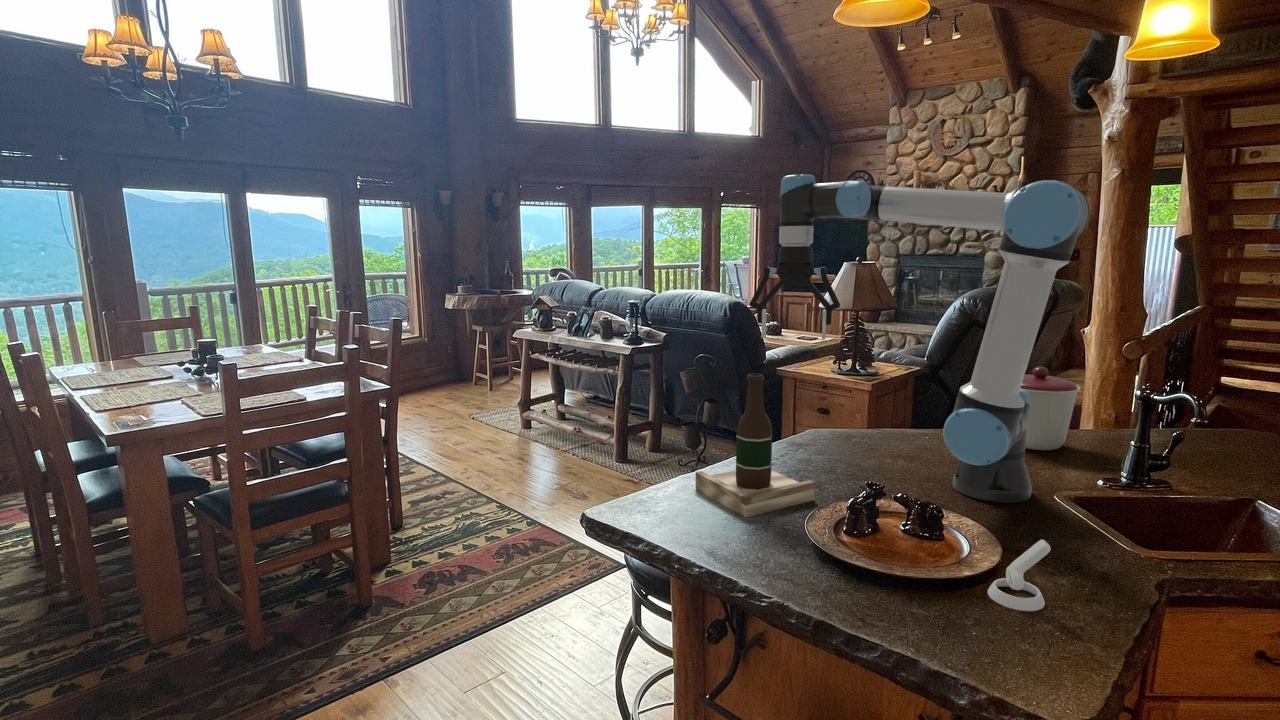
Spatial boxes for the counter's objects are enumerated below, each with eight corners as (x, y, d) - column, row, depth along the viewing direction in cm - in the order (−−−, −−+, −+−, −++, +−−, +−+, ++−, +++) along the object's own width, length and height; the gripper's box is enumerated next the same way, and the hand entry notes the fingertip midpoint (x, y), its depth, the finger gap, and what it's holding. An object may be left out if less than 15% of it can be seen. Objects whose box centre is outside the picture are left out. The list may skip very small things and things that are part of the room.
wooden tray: (813, 500, 143) (814, 482, 142) (745, 517, 134) (745, 498, 133) (759, 475, 158) (760, 458, 157) (695, 489, 150) (695, 472, 149)
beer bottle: (731, 478, 149) (732, 371, 145) (765, 476, 150) (768, 370, 146) (740, 491, 142) (741, 378, 137) (776, 489, 142) (779, 377, 138)
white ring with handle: (1092, 587, 96) (1052, 560, 96) (1028, 635, 101) (990, 610, 101) (1073, 554, 102) (1036, 528, 102) (1014, 600, 108) (978, 576, 107)
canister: (981, 442, 181) (987, 365, 178) (1017, 431, 191) (1024, 358, 187) (1052, 460, 166) (1060, 376, 163) (1087, 447, 176) (1096, 368, 172)
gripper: (853, 244, 153) (849, 337, 157) (743, 245, 160) (741, 334, 164) (853, 245, 146) (849, 342, 150) (738, 246, 153) (737, 338, 157)
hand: (793, 338), depth 157 cm, fingers open, 13 cm apart
